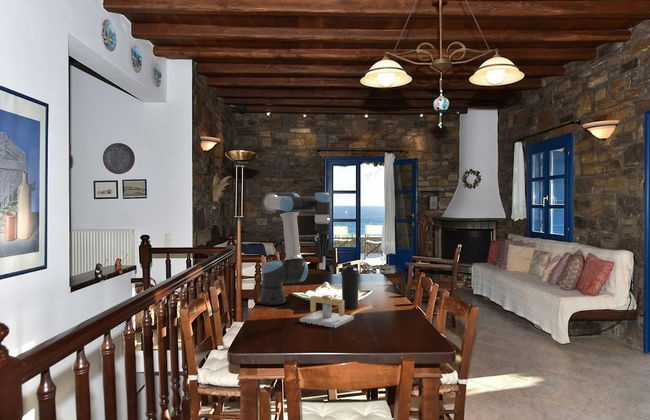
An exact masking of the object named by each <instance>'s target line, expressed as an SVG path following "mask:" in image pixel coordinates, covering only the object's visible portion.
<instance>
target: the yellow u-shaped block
mask: <svg viewBox="0 0 650 420" xmlns="http://www.w3.org/2000/svg"><path fill="white" fill-rule="evenodd" d="M309 298H310V301H309V303H310V309H309V310H310V313H311V312H312V313H315V312H317V303H319V304H323V303H324V304H331V305H332V306H338V314H339V316H341V317H342V316H344V315H345V309H344V300H342V299H338V298H333V296H332V295H328V294H326V295H321V296H317V295H311V296H310V297H309Z"/></svg>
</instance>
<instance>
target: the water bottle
mask: <svg viewBox="0 0 650 420" xmlns="http://www.w3.org/2000/svg"><path fill="white" fill-rule="evenodd" d="M340 276H341V298H342V299H341V300H344V310H357V309H358V308H359V286H360V285H359V284H360V283H359V282H360V281H359V280H360V271H359V269H358V268H356V267H355V264H346V267H344V268H343V269H342V270H341V271H340Z"/></svg>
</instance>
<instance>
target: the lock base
mask: <svg viewBox="0 0 650 420" xmlns="http://www.w3.org/2000/svg"><path fill="white" fill-rule="evenodd" d="M332 306H333V305H331V304H324V303H322V310H318V311H314V312H312V313H309V314H307V315H305V316H303V317H300V318H299V322H301V323H305V322H306V324H311V323H312V325H316V324H317V326H322V325H323V326H324V327H329V328H333V327H334V329H336V328H338V327H341V326H342V325H344V324H346V323H348V322H351V321H352V320H354V319H355V317H354V315H350V314H344V316H342V317H341V316H339V312H338V313H336V312H332V310H333V309H332ZM323 326H322V327H323Z"/></svg>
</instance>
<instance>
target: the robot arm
mask: <svg viewBox="0 0 650 420" xmlns="http://www.w3.org/2000/svg"><path fill="white" fill-rule="evenodd" d="M261 201H262V203H261V204H262V207H263V208H264V209H265V210H267V211H268V212H273V213H279V215H280V217H281V218H282V223H283V235H284V236H283V237H284V248H285V249H284V250H285V258H284V259H283V261H282V260H271V261H266V262H264V263H263V265H262V268H261V269H262V271H261V275H262V277H261V279H262V281H261V282H262V284H261V287H262V289H261V292H260V296H259V298H258V300H259V304H261V305H267V306H276V305H281V304H284V303H286V301H287V300H286V296H285V291H284V288H283V287H284V285H283V284H287V283H289V284H290V283H299V282H304V281H305V280H306V279H307V276H308V273H309V266H308V262H306V261H305V260H304V257H303V256H301V248H300V247H301V246H300V236H299V227H298V215H299V214H300V212H314V222H315V224H314V231H315V232H316V236H313V241H314V246H315V247H314V248H315V254H316V256H317V257H318V262H319V264H318V269H319V270H326V257H328V255H329V250H330V249H329V247H330V240H331V238H332V237H331V235H329V231H330V229H331V224H330V205H331V204H330V203H331V199H330V193H329V192H315V193H314V196H300V195H299V194H298V193H296V192H270V193H267V194H266V195H264V197H263V198H262V200H261Z"/></svg>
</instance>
